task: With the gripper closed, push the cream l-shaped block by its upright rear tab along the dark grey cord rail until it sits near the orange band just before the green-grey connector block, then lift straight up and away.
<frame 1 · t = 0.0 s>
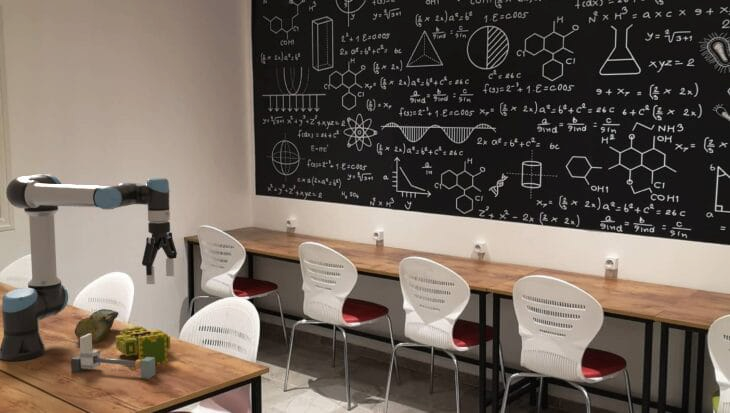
hand: (160, 279, 267), 28 cm above the table, fingers open, 13 cm apart
cream l-shaped block: (90, 351, 253), point 7 cm above the table, slide at 0.0 cm
toy: (142, 354, 273), on the table
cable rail: (114, 372, 252), on the table
stone: (96, 335, 295), on the table
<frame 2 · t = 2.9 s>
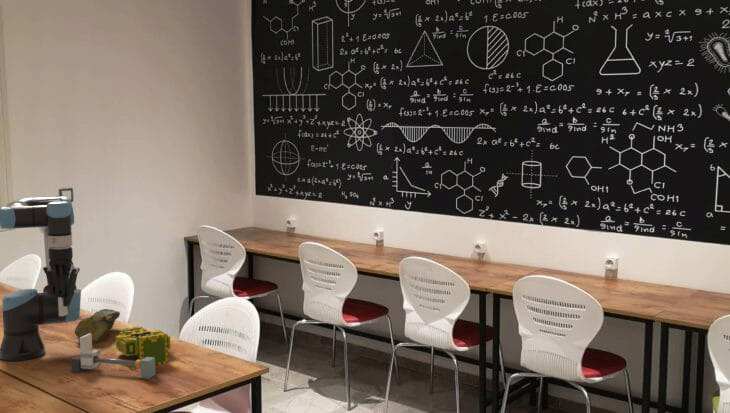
hand: (63, 315, 254), 19 cm above the table, fingers closed
nothing on the table moved.
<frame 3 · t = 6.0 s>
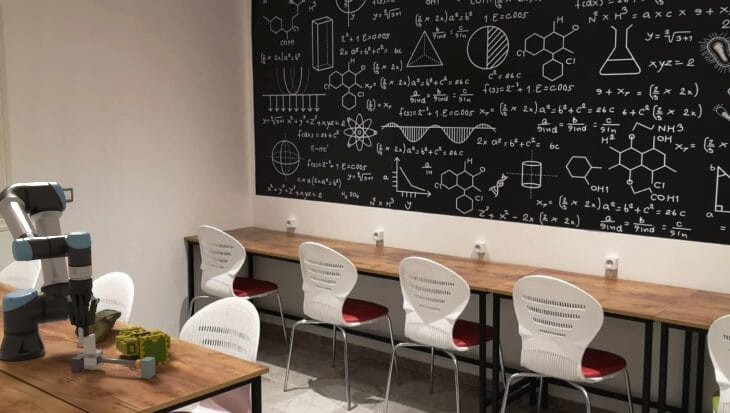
hand: (83, 345, 253), 9 cm above the table, fingers closed
cream l-shaped block: (93, 351, 253), point 7 cm above the table, slide at 1.3 cm, touching gripper
everything else where it was.
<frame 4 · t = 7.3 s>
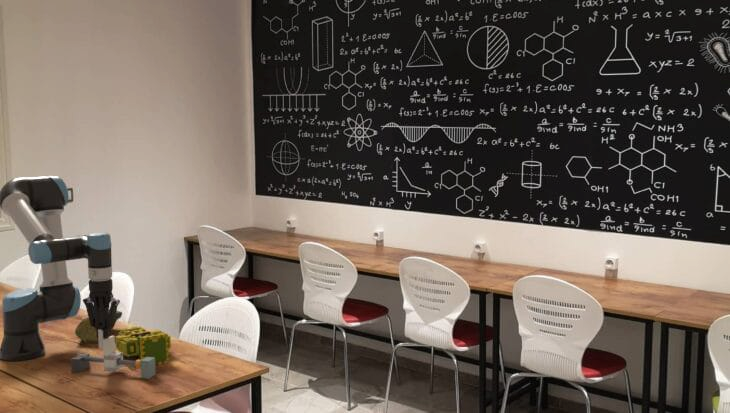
hand: (103, 347, 251), 9 cm above the table, fingers closed
cream l-shaped block: (113, 353, 251), point 7 cm above the table, slide at 9.0 cm, touching gripper
everything else where it was.
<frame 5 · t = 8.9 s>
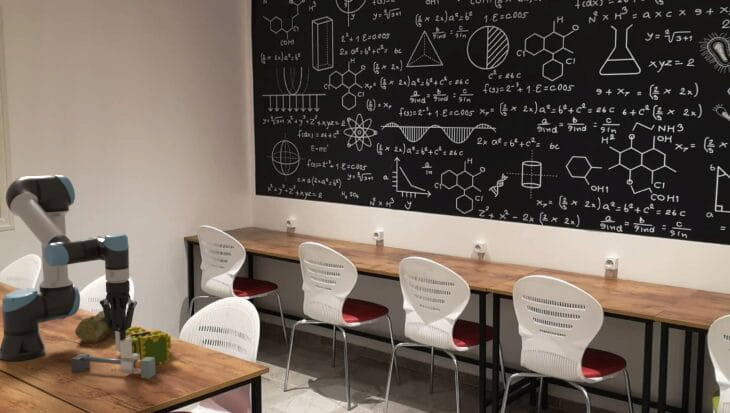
hand: (119, 349, 250), 9 cm above the table, fingers closed
cream l-shaped block: (130, 355, 249), point 7 cm above the table, slide at 15.4 cm, touching gripper
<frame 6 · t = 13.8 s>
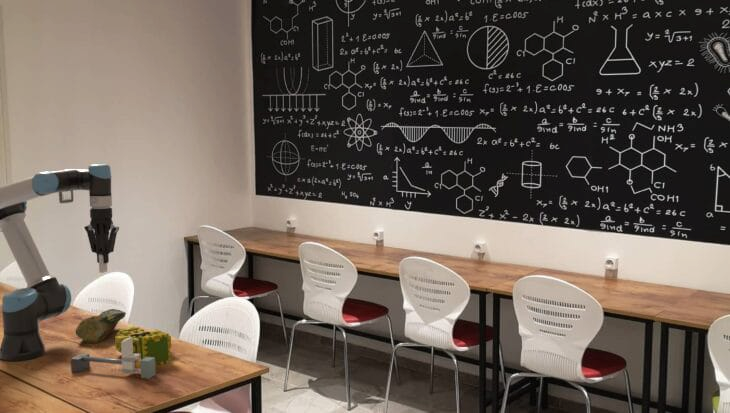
hand: (103, 271, 269), 30 cm above the table, fingers closed
cream l-shaped block: (131, 355, 249), point 7 cm above the table, slide at 15.8 cm
at the end: cream l-shaped block slide at 15.8 cm; the gripper is holding nothing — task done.
